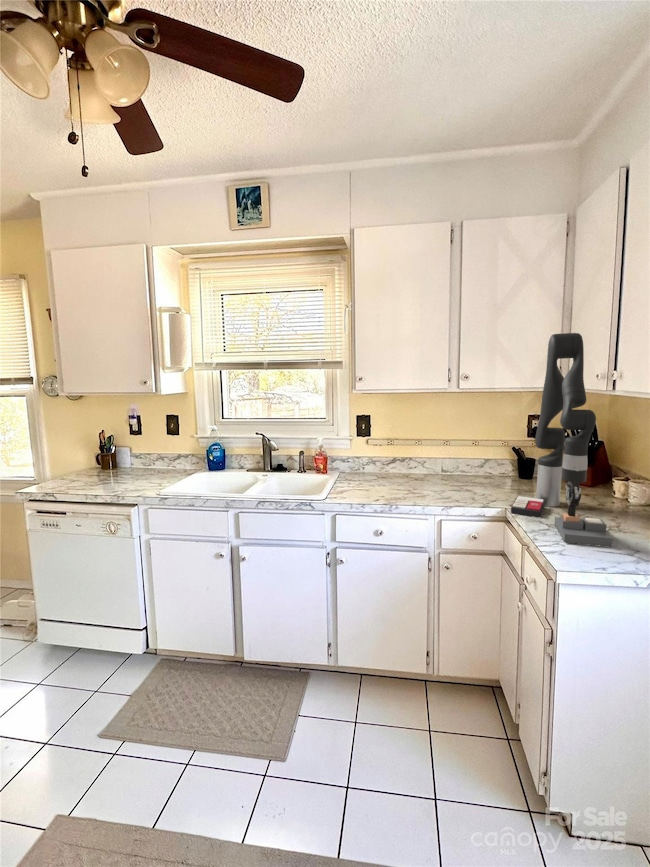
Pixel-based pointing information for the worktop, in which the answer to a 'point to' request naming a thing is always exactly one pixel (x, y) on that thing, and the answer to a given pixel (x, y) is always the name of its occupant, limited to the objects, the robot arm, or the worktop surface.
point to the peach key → (571, 518)
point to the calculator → (528, 506)
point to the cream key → (593, 520)
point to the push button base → (583, 532)
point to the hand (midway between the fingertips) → (571, 515)
